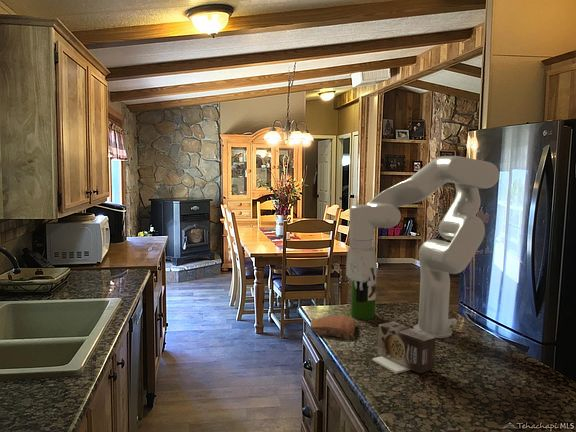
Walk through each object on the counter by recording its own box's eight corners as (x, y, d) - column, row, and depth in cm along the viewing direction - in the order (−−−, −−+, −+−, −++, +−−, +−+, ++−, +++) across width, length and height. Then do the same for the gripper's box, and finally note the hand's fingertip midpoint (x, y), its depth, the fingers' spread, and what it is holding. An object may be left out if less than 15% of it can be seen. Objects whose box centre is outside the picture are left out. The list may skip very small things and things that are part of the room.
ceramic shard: (315, 308, 173) (357, 317, 171) (312, 325, 173) (354, 335, 171) (310, 314, 159) (355, 325, 156) (306, 334, 159) (351, 344, 156)
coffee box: (377, 324, 142) (420, 341, 129) (393, 320, 146) (436, 336, 132) (376, 354, 143) (419, 374, 130) (392, 350, 146) (435, 369, 133)
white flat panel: (403, 353, 146) (403, 351, 146) (428, 365, 137) (428, 363, 137) (372, 360, 140) (372, 358, 140) (396, 373, 131) (396, 371, 131)
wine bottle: (368, 321, 175) (372, 231, 172) (346, 316, 180) (349, 229, 177) (378, 315, 183) (382, 229, 179) (357, 311, 188) (360, 227, 184)
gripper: (337, 242, 157) (338, 297, 159) (367, 249, 144) (367, 309, 146) (356, 239, 160) (356, 294, 163) (386, 246, 148) (386, 305, 150)
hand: (361, 301), depth 154 cm, fingers closed
